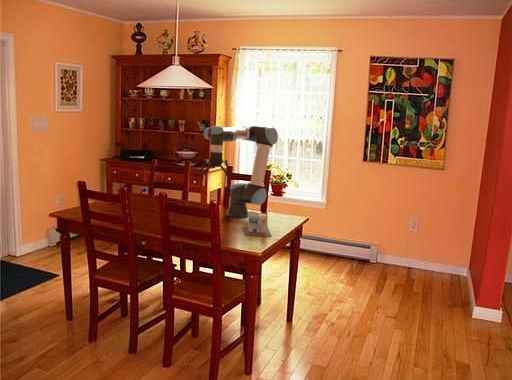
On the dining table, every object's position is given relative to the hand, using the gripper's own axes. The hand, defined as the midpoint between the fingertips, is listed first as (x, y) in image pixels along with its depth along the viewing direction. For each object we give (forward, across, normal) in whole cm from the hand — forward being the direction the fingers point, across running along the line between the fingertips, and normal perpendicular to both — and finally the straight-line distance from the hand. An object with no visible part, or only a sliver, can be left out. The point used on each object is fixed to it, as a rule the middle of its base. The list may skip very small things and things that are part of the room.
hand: (214, 186), depth 293 cm
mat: (+27, +27, -5) cm, 38 cm away
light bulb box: (+26, +27, -5) cm, 38 cm away
